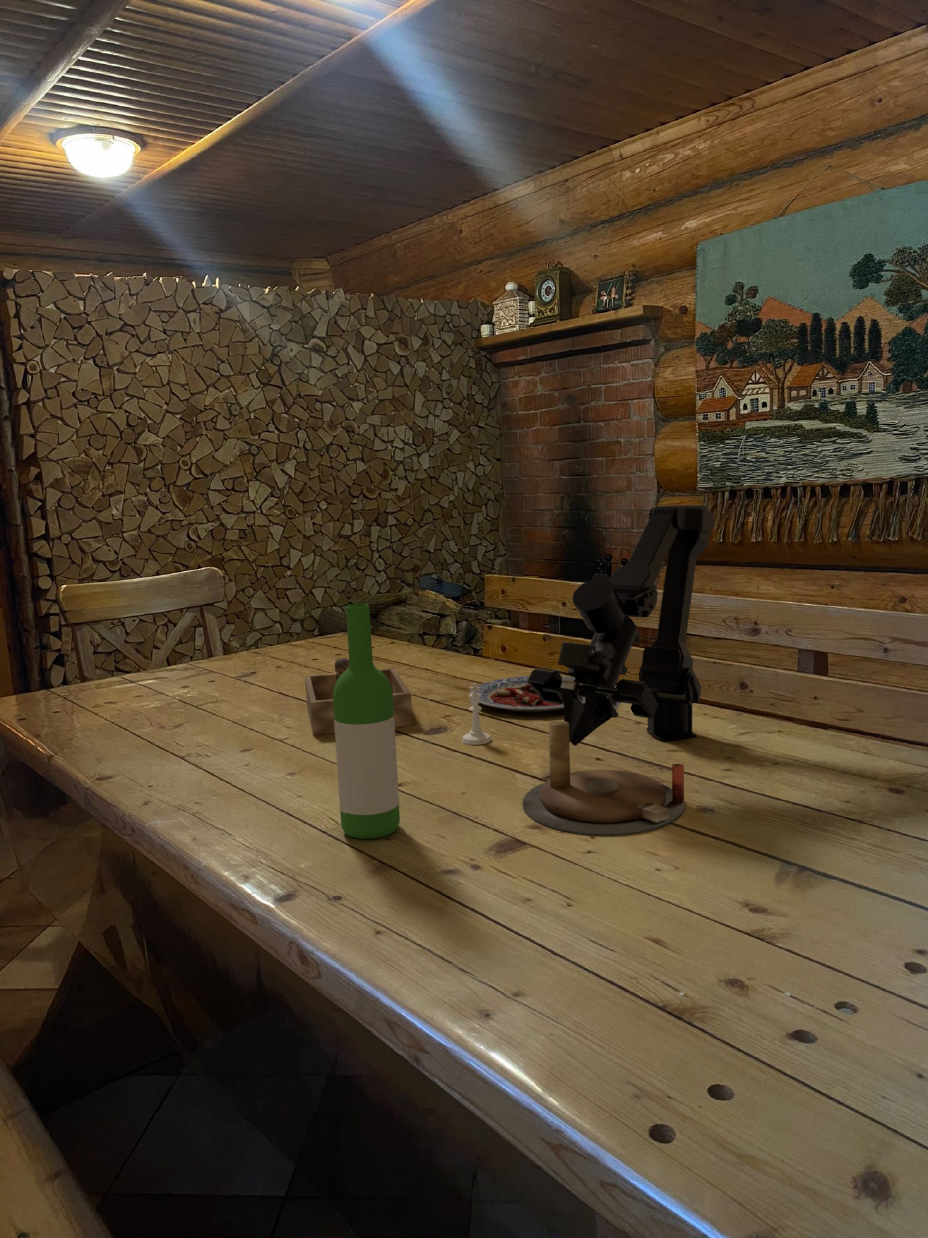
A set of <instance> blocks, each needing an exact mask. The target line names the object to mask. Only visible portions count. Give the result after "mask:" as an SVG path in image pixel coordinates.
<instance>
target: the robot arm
mask: <svg viewBox="0 0 928 1238" xmlns="http://www.w3.org/2000/svg"><path fill="white" fill-rule="evenodd" d="M648 513H649V514H648V521H647V523H646V525H645V527H644V529H643V531H642V533H641V535H640V537H639V539H638V541H637V543H636V545H635V546H634V549H633V551H632V553H631V554H630V555H631V556H630V557H629V559H628V560H627V562H626V564H625V565H622V566H621V567H620V568H618V569H616V570H615V571H614V572H613V573H612V574H611V575H610V577H609V575H608V574H607V573H594V574H593V577H592V579H589V580H587V581H585V582H583V583H582V584H580V585H579V586H578V588H577V589H575V590H574V593H573V595H572V603H573V605H574V606H575V609H576V610H577V611H578V613H579V615H580V617H581V618H582V620H583V622H584V623H585V625H586V627H587V629H589V631H590V632H593V633H594V634H593V636H592V638H591V641H590V643H589V644H584V643H575V642H568V641H563V642H562V643H561V646H560V652H559V657H558V661H557V665H558V666H564V667H566V668H568V670H567V673H568V674H569V676H570V677H571V678H575V680H572V679H565V678H562V677H563V676H562V675H561V674H560V673H559V670H555V669H548V668H541V667H540V668H539V667H537V668H534V669H532V671H531V672H530V674H529V675H528V676H529V678H528V681H527V682H528V684H529V685H530V686H531V687H532V689H533V690H534V691H535V692H536V694H537V695H538V696H539V697H540V699H541V700H543V701H545V702H548V703H555V704H562V703H564V709H563V710H564V712H563V715H564V716H563V717H564V718H563V721H566V722H568V723H569V744H570V743H571V745H573V746H575V747H576V746H577V745H579V744H580V743H581V742H582V741H583V740H584V739H586V738H588V736H589V735H590V734H592V733H593V732H594V731H596V730H597V729H598V728H599V727H601V726H602V725H604V724H605V723H607V722H608V721H610V720H611V719H614V718H615V719H617V718H618V716H619V713H618V708H619V707H620V705H622V703H623V704H629V705H630V711H631V713H632V714H633V716H634V717H639V718H644V719H647V727H646V732H647V733H649V734H651V735H652V736H653V737H655V738H657V740H659V741H661V742H662V741H663V742H665V741H673V740H680V739H681V740H683V739H691V738H697V735H698V734H697V733H696V732H694V731H693V704H698V703H699V702H700V699H701V695H702V685H701V683H700V681H699V679H698V677H697V675H696V673H695V671H694V669H693V668H694V659H693V657H692V655H691V652H690V651H689V648H688V646H687V644H686V643H687V633H688V626H689V618H690V611H691V602H692V595H693V589H694V587H693V586H694V582H695V572H696V565H697V559H698V558H699V557H700V556H701V554H702V553H703V552H704V551H705V550H706V548H707V546H708V545H709V542H710V538H711V533H712V532H713V530H714V525H715V517H714V516H715V515H714V514H713V512H712V511H709V509H708V507H707V505H704V504H690V505H689V504H688V505H687V504H686V505H685V504H682V505H681V504H679V505H678V504H674V505H673V504H670V505H656V506H653V507H651V508H650V509H649V512H648ZM665 560H666V565H665V571H664V572H665V573H664V580H663V588H662V595H661V602H660V603H661V604H660V610H659V618H658V626H657V631H656V632H657V633H656V638H655V640H654V641H653V642H652V644H651V645H650V646H647V645H646V646H645V647H644V650H643V651H642V660H641V666H640V668H639V671H638V680H631V679H625V678H623V679H620V675H622V676H626V674H627V672H628V668H627V666H626V665H625V664H626V661H627V658H628V656H629V654H630V651H631V649H632V646H633V644H640V643H641V635H640V633H639V630H638V626H637V625H636V623H635V622H634V620H633V619H632V618H637V619H638V618H641V619H642V618H648V617H650V615H651V614H652V612H653V611H654V610H655V608H656V604H657V602H658V595H659V593H658V589H657V585H656V580H657V577H658V575H659V573H660V571H661V568H662V566H663V564H664V562H665ZM619 679H620V680H619ZM584 698H585V704H583V700H584Z"/></svg>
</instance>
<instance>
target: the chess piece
mask: <svg viewBox="0 0 928 1238" xmlns="http://www.w3.org/2000/svg"><path fill="white" fill-rule="evenodd" d="M468 690H469V691H472V690H473V693H472V694H470V693H469V695H468V697H469V701H470V704H471V706H470V707H469V709H468V710H469V711H471V712H472V717H471V718H472V719H471V728H470V730H469V732H468V733H465V734H464V735H463V736H462V740H461V742H462V743H463V744H465V745H469V746H470V745H471V746H472V745H473V746H478V745H486V744H489V743H490V742H491V741H492V739H491V735H490V734H489V733H487V732H484V730H483V729H482V726H481V722H480V721H481V720H480V713H479V711H481V710H482V709H483V708H482V707H481V706H479V704H480V703H479V700H480V697H481V695H480V694H479V693H476V690H480V687H477V683H476V682H475V683H472V686H470V687H468Z"/></svg>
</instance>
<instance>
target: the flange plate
mask: <svg viewBox="0 0 928 1238" xmlns="http://www.w3.org/2000/svg"><path fill="white" fill-rule="evenodd" d="M570 746H571V745H570V743H569V723H568V722H566V721H564V720H554V721H550V722H548V747H549V748H548V751H549V779H548V780H547V781H545V782H543V783H544V784H543V783H542V784H543V785H542V787H541V789H540V798H541V803H542V804H543V806H544V807H545V808H546V809H548V810H549V811H551V812H553V813H555V814H558V815H560V816H564V817H567V818H571V819H576V820H582V821H592V822H618V821H628V820H634V819H638V818H642V817H643V818H645V819H648V820H651V821H654V822H656V823H657V822H660V821H662V820H665V819H667V818H669V809H668V808H665V807H663V806H664V805H665V802H666V791H665V788H664V787H663V785H664V784H663V783H661V782H660V781H658V780H656V779H655V778H652V777H649V776H646V775H644V774H640V773H636V772H631V771H626V770H618V769H617V770H615V769H586V770H577V771H572V772H571V756H570V755H571V753H570V752H571V751H570ZM662 784H663V785H662Z"/></svg>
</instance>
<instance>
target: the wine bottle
mask: <svg viewBox="0 0 928 1238" xmlns="http://www.w3.org/2000/svg"><path fill="white" fill-rule="evenodd" d="M345 610H346V628H347V648H348V649H347V650H348V660H349V667H348V669H347V670H346V671H345V672H344V673H343V674H342V675H341V676H340V677H339V679H338V680H337V682H336V685H335V688H334V693H333V706H334V724H335V733H334V737H335V750H336V751H335V754H336V767H337V768H336V769H337V784H338V786H337V787H338V798H339V801H338V802H339V811H340V812H339V813H340V824H341V828H342V830H343V832H344V833H345V834H346V835H347V836H348V837H351V838H353V839H354V838H355V839H359V840H373V839H379V838H384V837H387V836H388V835H390V834H392V833H394V832H395V831H396V830H397V829H398V827H399V825H400V823H401V821H400V820H401V819H400V818H401V817H400V814H401V813H400V795H399V778H398V777H399V776H398V762H397V761H398V760H397V757H398V756H397V743H396V727H395V722H394V707H393V692H392V688H391V685H390V682H389V680H388V679H387V677H386V676H385V675H384V674H383V673H382V672H381V671H380V670H379V669H378V668H377V667H376V666H375V665H374V662H373V644H372V643H373V642H372V630H371V614H370V613H371V612H370V605H369V604H368V603H363V602H362V603H361V602H360V603H351V604H347V605H346V607H345Z"/></svg>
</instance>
